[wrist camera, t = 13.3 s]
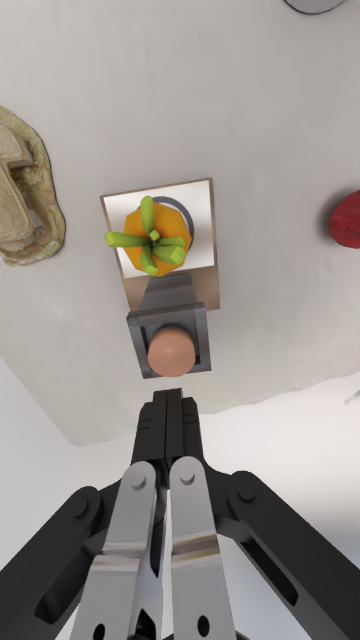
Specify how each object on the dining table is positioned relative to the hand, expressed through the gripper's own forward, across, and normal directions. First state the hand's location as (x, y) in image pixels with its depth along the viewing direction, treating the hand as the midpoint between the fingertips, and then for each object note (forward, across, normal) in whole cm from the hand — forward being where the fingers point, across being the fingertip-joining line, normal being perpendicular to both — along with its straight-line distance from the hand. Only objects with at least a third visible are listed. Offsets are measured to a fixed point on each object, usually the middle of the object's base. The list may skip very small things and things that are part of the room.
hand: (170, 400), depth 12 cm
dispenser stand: (+19, 0, -4) cm, 19 cm away
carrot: (+17, 0, -8) cm, 19 cm away
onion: (+19, -21, -6) cm, 29 cm away
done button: (+6, 0, 0) cm, 6 cm away
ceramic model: (+19, +16, -14) cm, 28 cm away
